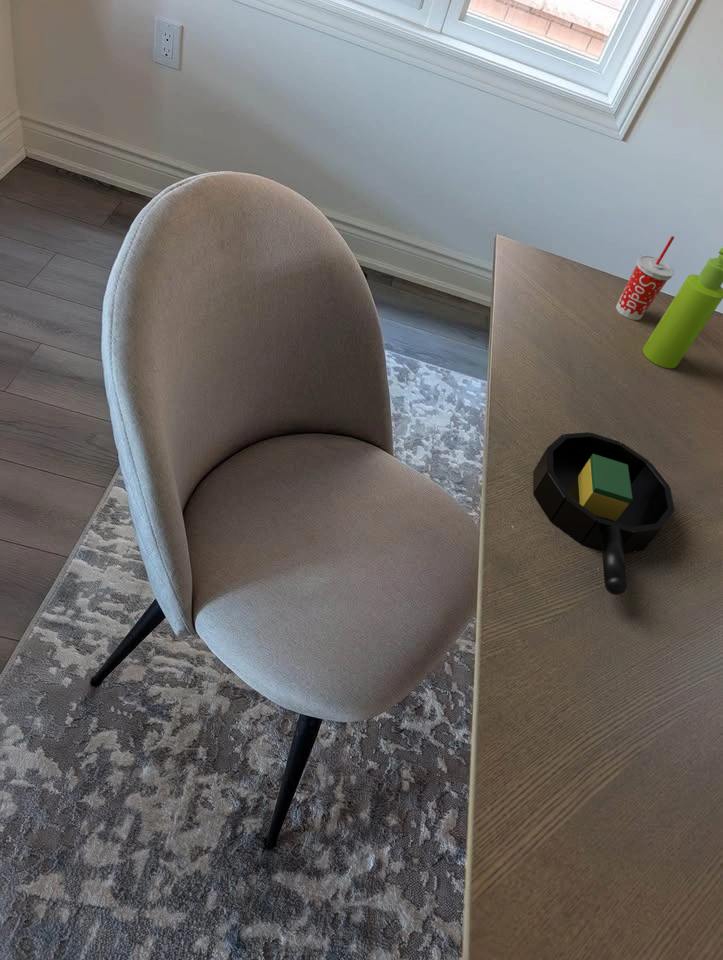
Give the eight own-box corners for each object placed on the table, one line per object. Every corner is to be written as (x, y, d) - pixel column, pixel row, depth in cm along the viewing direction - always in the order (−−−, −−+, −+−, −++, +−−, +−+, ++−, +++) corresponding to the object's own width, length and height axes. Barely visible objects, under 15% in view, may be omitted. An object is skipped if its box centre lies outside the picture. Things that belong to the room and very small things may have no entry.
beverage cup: (605, 305, 127) (647, 229, 117) (623, 298, 130) (666, 224, 121) (634, 326, 124) (680, 250, 114) (652, 317, 128) (698, 243, 118)
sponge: (577, 476, 92) (592, 453, 89) (612, 487, 92) (628, 464, 90) (579, 510, 88) (595, 487, 85) (615, 521, 88) (632, 499, 85)
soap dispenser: (635, 356, 117) (708, 240, 103) (648, 340, 122) (719, 228, 108) (669, 376, 116) (747, 261, 102) (681, 359, 120) (757, 247, 107)
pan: (533, 441, 96) (546, 417, 93) (648, 477, 96) (664, 454, 94) (532, 587, 78) (549, 564, 76) (672, 630, 79) (694, 608, 76)
